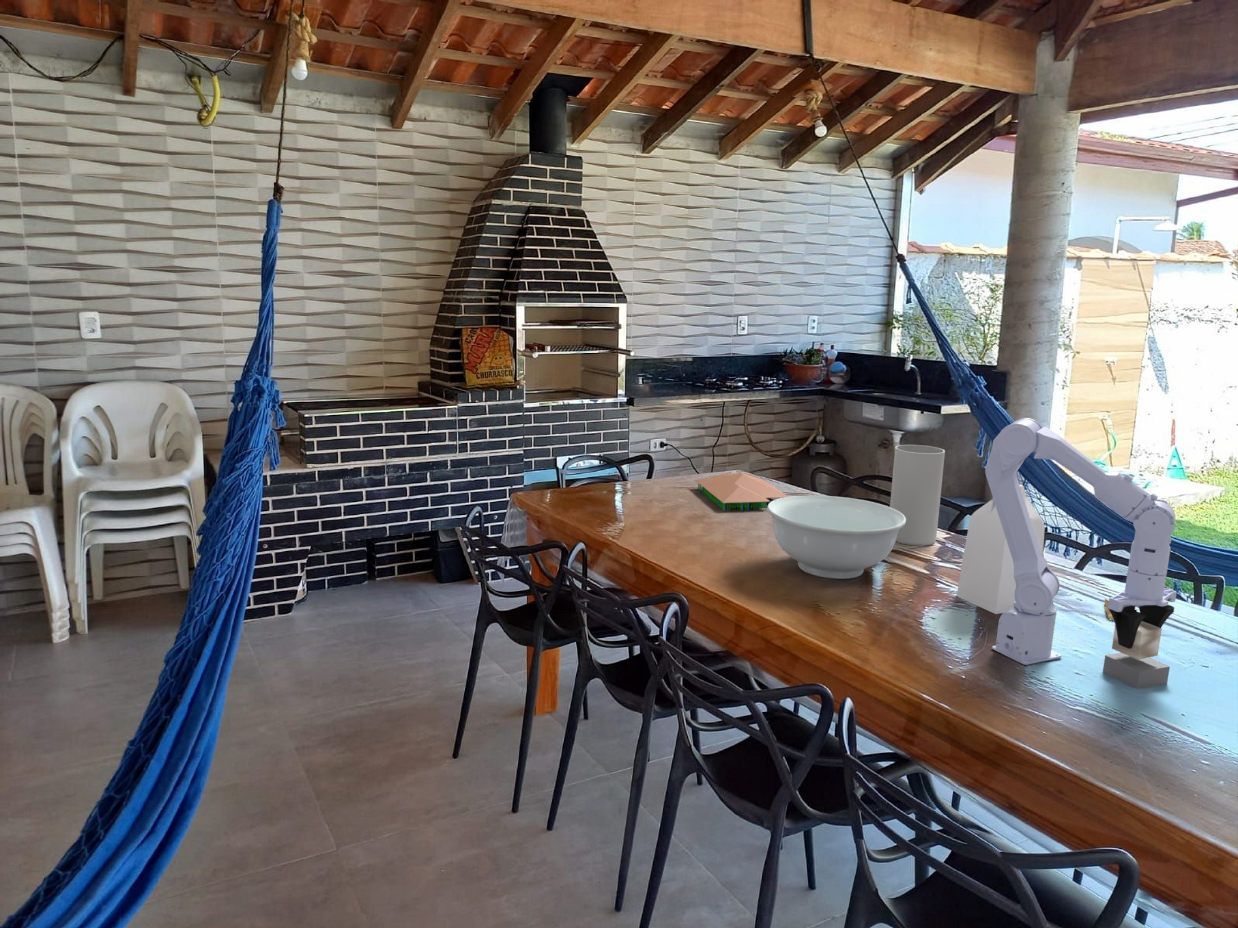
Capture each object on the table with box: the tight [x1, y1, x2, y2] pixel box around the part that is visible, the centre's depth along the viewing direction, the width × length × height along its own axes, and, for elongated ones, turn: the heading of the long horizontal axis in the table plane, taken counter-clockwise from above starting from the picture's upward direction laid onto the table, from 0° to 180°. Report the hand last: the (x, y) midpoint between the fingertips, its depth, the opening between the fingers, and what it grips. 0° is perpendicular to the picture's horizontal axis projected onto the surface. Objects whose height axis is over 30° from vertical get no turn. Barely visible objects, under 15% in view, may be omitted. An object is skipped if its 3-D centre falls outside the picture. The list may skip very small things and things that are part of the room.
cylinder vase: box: [889, 444, 946, 547], centre depth 233 cm, size 12×12×25 cm
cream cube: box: [1111, 621, 1162, 660], centre depth 153 cm, size 5×5×5 cm
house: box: [695, 472, 790, 512], centre depth 277 cm, size 23×33×8 cm
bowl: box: [766, 495, 906, 580], centre depth 208 cm, size 32×32×15 cm
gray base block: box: [1102, 652, 1171, 690], centre depth 154 cm, size 7×7×4 cm
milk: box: [956, 484, 1046, 615], centre depth 187 cm, size 12×12×26 cm
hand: (1135, 644), depth 153 cm, fingers closed on cream cube, 5 cm apart
